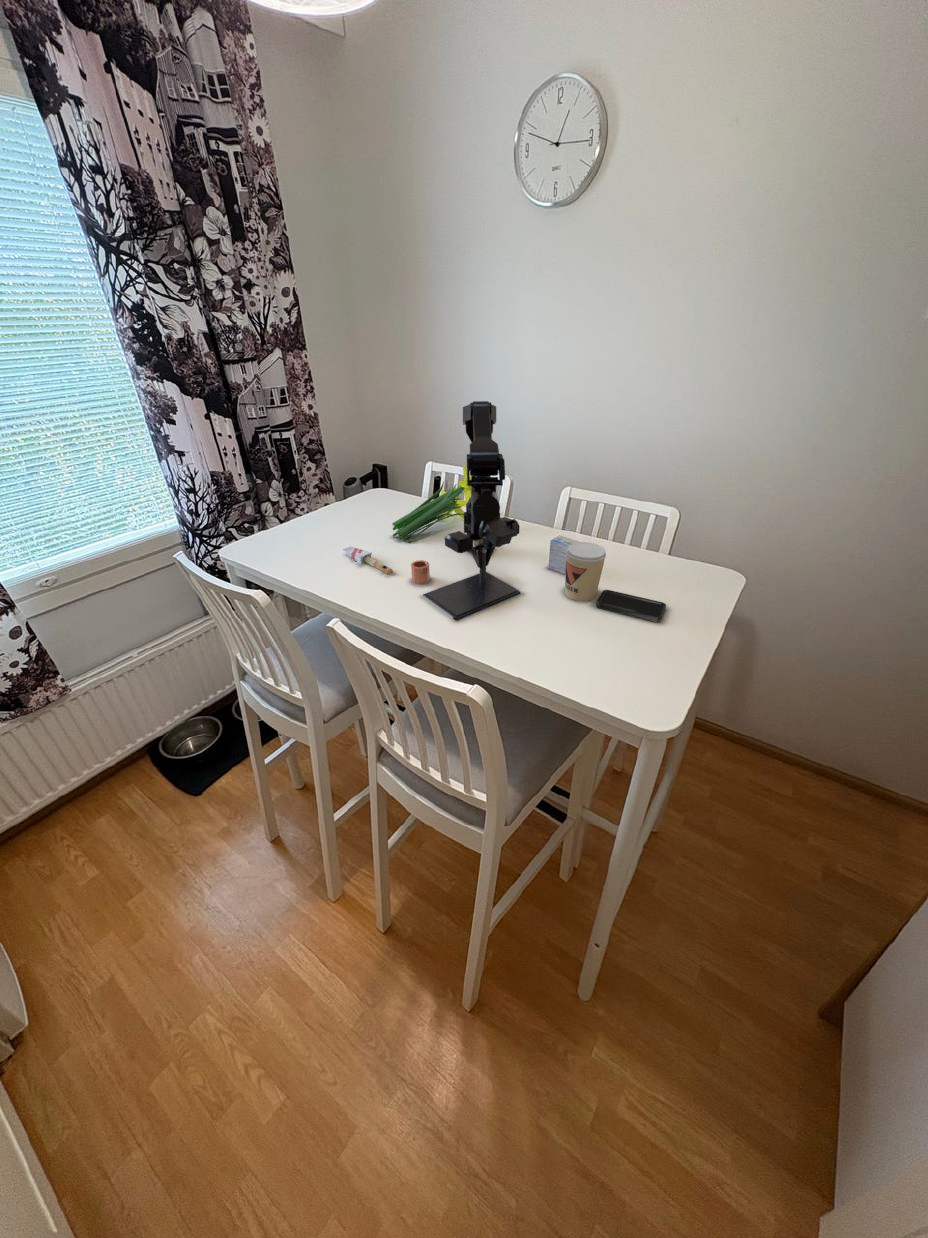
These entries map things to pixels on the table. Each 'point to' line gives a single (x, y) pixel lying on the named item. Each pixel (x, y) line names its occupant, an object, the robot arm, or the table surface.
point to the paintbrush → (366, 559)
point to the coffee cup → (583, 570)
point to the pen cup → (420, 572)
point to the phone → (631, 605)
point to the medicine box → (559, 553)
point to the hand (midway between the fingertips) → (482, 566)
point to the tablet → (471, 595)
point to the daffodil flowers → (433, 510)
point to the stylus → (483, 571)
